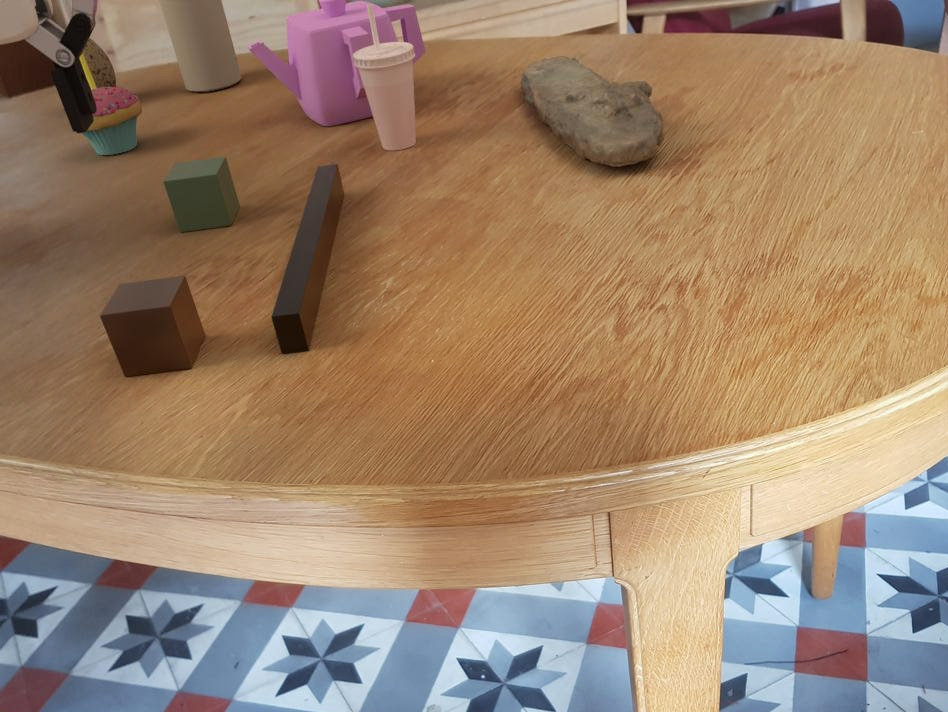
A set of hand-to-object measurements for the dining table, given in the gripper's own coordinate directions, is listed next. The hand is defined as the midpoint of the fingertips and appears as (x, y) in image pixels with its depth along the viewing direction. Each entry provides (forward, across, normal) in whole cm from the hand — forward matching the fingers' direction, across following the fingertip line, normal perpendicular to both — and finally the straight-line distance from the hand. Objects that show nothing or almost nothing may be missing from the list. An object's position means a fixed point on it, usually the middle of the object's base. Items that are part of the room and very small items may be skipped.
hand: (12, 139), depth 63 cm
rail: (+16, -17, -10) cm, 25 cm away
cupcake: (+16, +8, -54) cm, 56 cm away
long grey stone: (+16, -45, -35) cm, 59 cm away
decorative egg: (+16, +15, -76) cm, 79 cm away
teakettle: (+16, -20, -56) cm, 61 cm away
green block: (+16, -6, -24) cm, 29 cm away
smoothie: (+16, -25, -37) cm, 48 cm away
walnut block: (+16, -5, +3) cm, 17 cm away
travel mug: (+16, -1, -78) cm, 79 cm away
